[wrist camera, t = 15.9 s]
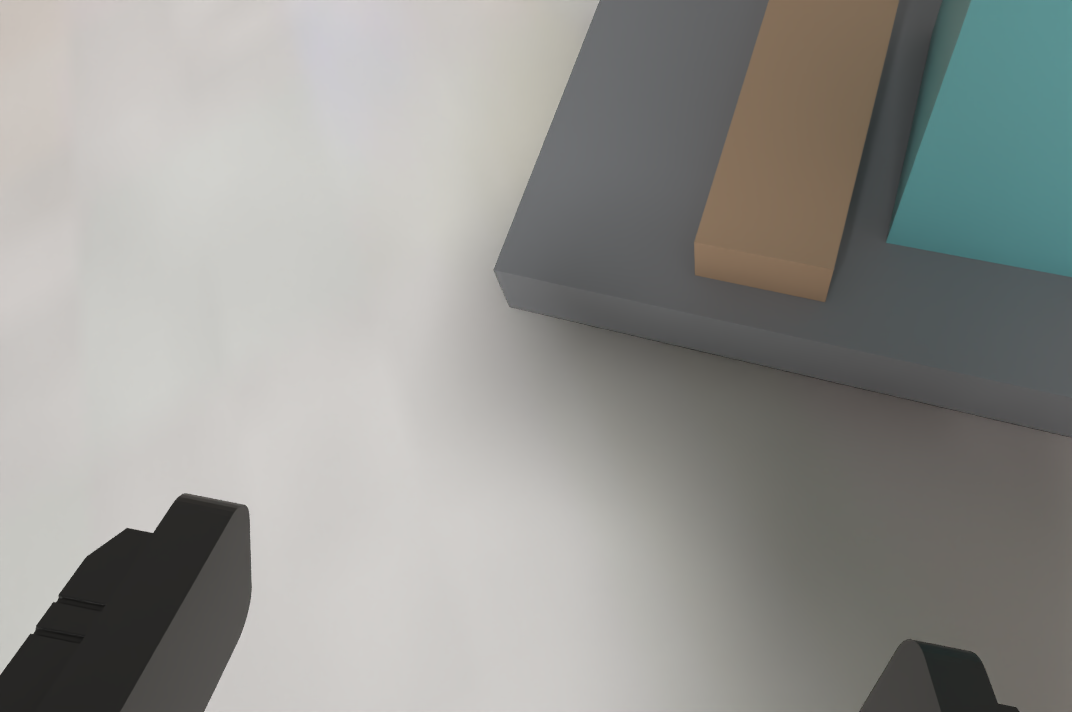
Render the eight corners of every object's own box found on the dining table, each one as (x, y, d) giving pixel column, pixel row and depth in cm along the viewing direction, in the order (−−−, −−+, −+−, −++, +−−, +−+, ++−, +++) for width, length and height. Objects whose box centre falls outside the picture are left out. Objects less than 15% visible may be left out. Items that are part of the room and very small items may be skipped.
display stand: (509, 306, 24) (479, 237, 21) (636, -26, 28) (627, -126, 25) (1535, 545, 18) (1716, 499, 14) (1507, 73, 22) (1643, -43, 19)
